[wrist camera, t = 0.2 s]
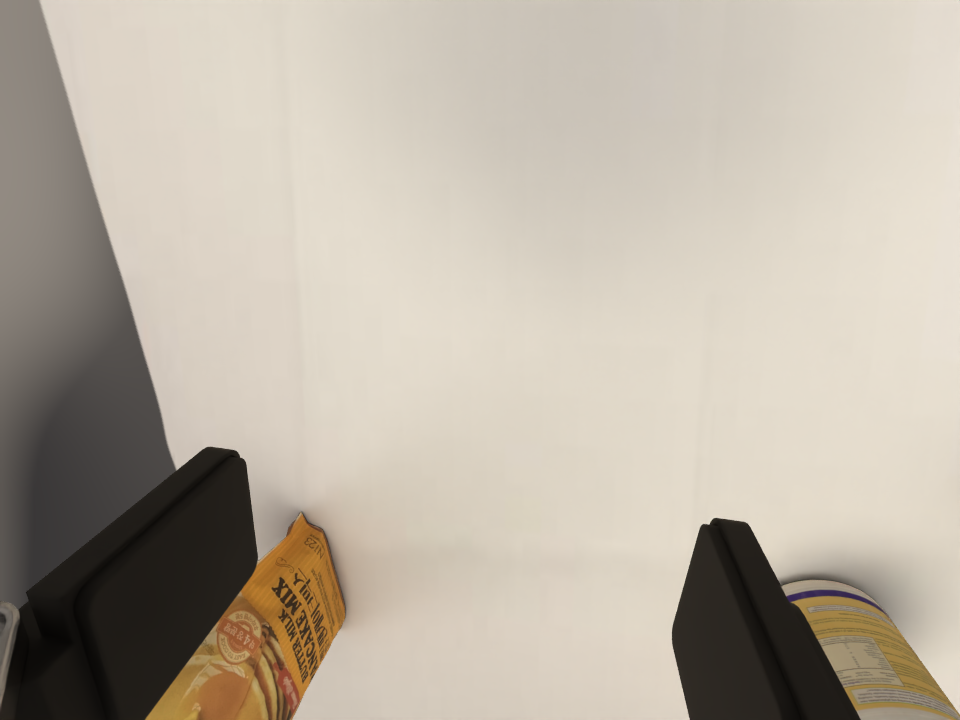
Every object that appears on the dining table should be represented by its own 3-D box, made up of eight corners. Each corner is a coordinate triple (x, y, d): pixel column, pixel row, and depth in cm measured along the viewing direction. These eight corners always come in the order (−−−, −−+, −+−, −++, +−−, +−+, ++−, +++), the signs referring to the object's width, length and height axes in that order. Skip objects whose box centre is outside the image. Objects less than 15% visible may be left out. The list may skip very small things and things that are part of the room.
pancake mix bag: (303, 639, 58) (98, 1020, 32) (258, 500, 52) (-43, 839, 26) (358, 642, 57) (191, 1039, 31) (320, 499, 50) (69, 854, 25)
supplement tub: (721, 591, 47) (800, 801, 32) (865, 557, 44) (1032, 774, 28) (760, 682, 51) (849, 912, 35) (897, 656, 47) (1062, 900, 32)
